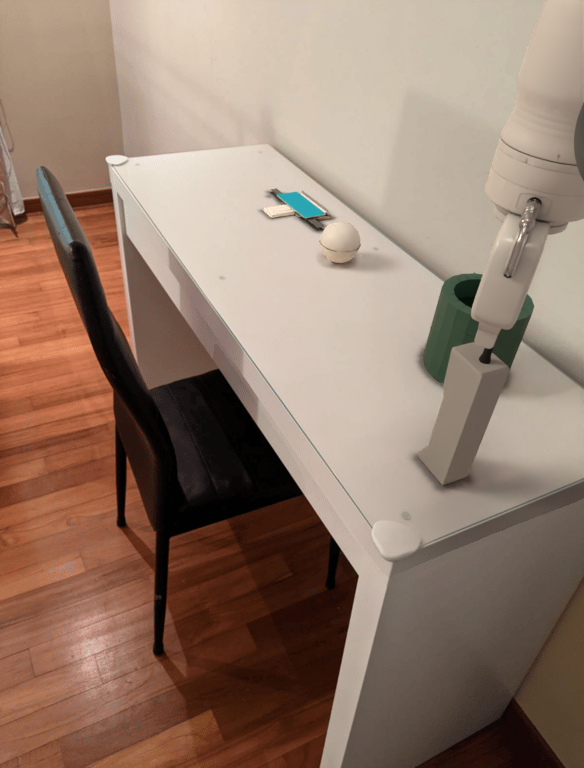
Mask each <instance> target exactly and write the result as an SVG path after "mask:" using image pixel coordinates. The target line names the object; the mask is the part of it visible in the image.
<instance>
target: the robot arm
mask: <svg viewBox="0 0 584 768" xmlns="http://www.w3.org/2000/svg"><path fill="white" fill-rule="evenodd" d="M516 85H517V86H516V97H515V103H514V106H513V108H512V111H511V114H510V116H509V118H507V121H506V122H505V124H504V125H503V128H502V129H501V132H500V134H499V135H500V136H499V138H498V142H497V146H496V148H495V152H494V155H493V159H492V162H491V165H490V169H489V172H488V175H487V179H486V181H485V185H484V193H485V197H487V199H488V200H490V201H491V202H492V203H493V204H494V206H493V209H492V213H493V215H494V217H495V218H496V219H497V220H498V221H499V222H500V223H502V224H501V226H500V228H499V231H498V233H497V234H496V237H495V240H494V242H493V244H492V247H491V250H490V253H489V255H488V258H487V261H486V264H485V267H484V270H483V273H482V274H483V276H482V279H481V282H480V285H479V287H478V290H477V293H476V296H475V299H474V302H473V306H472V310H471V317H472V319H474V320H476V321H478V322H479V326H478V331H477V334H476V337H475V340H474V342H475V344H476V345H478V346H481V347H484V348H487V349H491V348H493V347H494V344H495V342H496V339H497V336H498V334H499V332H500V330H501V329H505V330H509V329H511V328H512V327H513V326H514V324H515V323H516V321H517V318H518V316H519V313H520V311H521V308H522V306H523V303H524V300H525V298H526V295H527V294H528V292H529V290H530V287H531V285H532V281H533V279H534V276H535V274H536V271H537V268H538V266H539V263H540V261H541V257H542V254H543V252H544V248H545V246H546V242H547V240H548V236H549V235H557V234H561V233H563V232H564V231H565V230H566V229H567V227H568V225H569V223H573V222H578V221H581V220H584V0H544V1H543V4H542V6H541V9H540V11H539V14H538V16H537V18H536V21H535V25H534V27H533V30H532V32H531V36H530V38H529V41H528V44H527V46H526V50H525V53H524V57H523V59H522V62H521V66H520V69H519V71H518V75H517V82H516Z"/></svg>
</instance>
